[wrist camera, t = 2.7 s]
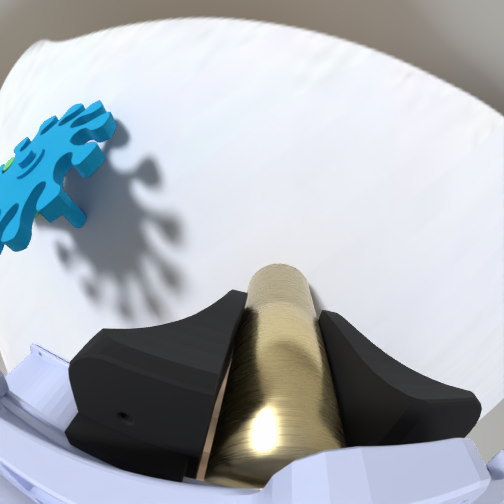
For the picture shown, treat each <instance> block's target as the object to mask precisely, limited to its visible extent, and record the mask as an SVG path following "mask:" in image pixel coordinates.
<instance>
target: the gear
mask: <svg viewBox="0 0 504 504" xmlns="http://www.w3.org/2000/svg"><path fill="white" fill-rule="evenodd" d="M116 126H117V124H116V122H115V120H114V118H113V116H112V114H111V112H106V110H105V108H104V106H103V104H102V102H101V101H100V100H99V101H97V102H95V103H93V104H92V105H90V106H89V107H88V108H87V109H85V108H84V106H83V104H75V105H73V106H72V107H71V108H70V109H69V110H68V111H67V112H66V113H65V114H64V116H63V117H62V118H61V119H60V120H58V119H57V117H56V116H53V117H51V118H49V119H48V120H46V121H44V122H43V124H42V125H41V126H40V129H39V132H38V133H37V135H36V136H35V138H34V139H33V140H32V142H31V141H30V139H29V138H28V137H26V138H25V139H24V140H23V141H21V142H20V143H19V144H18V145H17V146H16V147H15V149H14V153H15V154H16V155H15V158H14V157H13V158H11V159H10V160H9V161H8V162H7V163H6V165H4V164H3V165H1V167H0V254H1V252H2V250H3V247H4V244H5V245H7V246H8V247H9V248H10V249H11V250H13V251H15V252H17V251H21V250H24V249H26V248H27V246H28V245H29V242H30V240H31V235H32V224H33V220H34V218H35V217H36V216H37V215H38V214H39V212H40V213H41V214H42V215H43V216H44V217H45V218H46V219H47V220H48V221H49V222H52V221H54V220H55V219H57V218H58V217H59V216H61V215H63V216H64V217H65V218H66V219H67V220H68V221H69V222H70V223H71V224H72V225H73V226H74V227H75V228H80V227H82V226H83V225H84V223H85V222H86V219H87V216H86V215H85V214H84V213H83V212H82V210H81V209H80V208H79V207H78V206H77V205H76V204H75V202H74V201H73V200H72V199H71V198H70V197H69V196H68V194H67V193H66V192H65V191H64V190H63V181H64V176H65V174H66V173H67V171H68V170H69V169H70V168H72V167H73V166H74V167H75V168H76V170H77V171H78V172H79V174H80V175H81V176H82V177H83V178H87V177H90V176H91V175H92V174H93V173H94V172H95V171H96V170H97V169H98V168H99V166H100V165H101V164H102V163H103V161H104V160H105V159H106V157H105V156H104V154H103V152H102V151H101V149H100V148H99V146H98V144H97V143H96V142H104V141H106V140H108V139H110V138H111V136H112V135H113V133H114V132H115V129H116ZM89 140H95V141H96V142H90V143H87V144H84V143H86V142H87V141H89ZM83 144H84V145H83Z"/></svg>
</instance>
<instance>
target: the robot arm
mask: <svg viewBox="0 0 504 504" xmlns="http://www.w3.org/2000/svg"><path fill="white" fill-rule="evenodd" d="M247 297H248V293H245V292H241V291H237V290H231V291H229V292H228V293H227V294H226V295H225V296H223V297H222V298H221V299H219V300H218V301H217V302H215V303H214V304H212V305H211V306H209V307H207V308H206V309H204V310H202V311H200V312H198V313H197V314H195V315H192V316H190V317H187V318H185V319H182V320H179V321H175V322H171V323H167V324H163V325H159V326H153V327H146V328H135V329H104V328H103V329H102V330H101V331H100V332H98V333H97V334H96V335H95V336H94V337H93V338H92V339H91V340H90V341H89V342H88V343H87V344H86V345H85V346H84V347H83V348H82V349H81V350H80V351H79V353H78V354H77V355H76V356H75V357H74V358H73V359H72V360H71V361H70V364H69V363H67V362H66V361H64V360H62V359H60V358H58V357H56V356H54V355H53V354H51V353H49V352H47V351H46V350H44V349H42V348H40V347H39V346H37V345H35V344H31V345H30V349H31V353H30V354H29V355H28V356H27V357H26V358H25V359H24V360H23V361H22V362H21V363H20V364H19V365H17V366H16V367H15V368H14V369H13V370H12V371H11V372H10V373H9V374H8V375H7V376H6V377H4V375H3V373H2V372H1V371H0V504H504V449H503V450H502V451H500V452H499V453H498V454H496V455H495V456H494V457H493V458H492V459H491V460H490V461H489V462H488V464H487V465H485V464H484V462H483V460H482V458H481V456H480V454H479V452H478V450H477V448H476V446H475V444H474V442H473V440H472V439H466V438H465V437H466V435H467V434H468V433H469V432H470V431H471V430H472V428H473V427H474V426H475V424H476V423H477V421H478V419H479V417H480V414H481V410H482V407H481V403H480V402H479V401H478V399H477V398H476V396H475V395H474V394H473V393H472V392H471V391H467V390H463V389H460V388H456V387H453V386H449V385H446V384H443V383H441V382H438V381H435V380H433V379H430V378H428V377H426V376H424V375H422V374H420V373H418V372H416V371H414V370H412V369H410V368H408V367H406V366H405V365H403V364H401V363H400V362H398V361H397V360H395V359H393V358H392V357H390V356H389V355H387V354H386V353H385V352H383V351H382V350H381V349H379V348H378V347H377V346H376V345H374V344H373V343H372V342H371V341H370V340H368V339H367V338H366V337H365V336H364V335H363V334H361V333H360V332H359V331H358V330H357V329H356V328H355V327H354V326H352V325H351V324H350V323H349V322H348V321H347V320H346V319H344V318H343V317H342V316H341V315H339V314H338V313H335V312H330V311H325V310H322V312H321V315H320V318H319V320H318V323H319V327H320V331H321V335H322V339H323V343H324V347H325V351H326V355H327V359H328V364H329V368H330V372H331V376H332V381H333V385H334V390H335V394H336V399H337V403H338V408H339V413H340V418H341V423H342V427H343V432H344V438H345V443H346V448H340V449H331V450H324V451H321V452H318V453H315V454H312V455H309V456H305V457H302V458H299V459H296V460H294V461H293V462H292V463H290V464H289V465H287V466H286V467H284V468H283V469H282V470H280V471H279V472H277V473H276V474H274V475H273V476H272V477H271V479H270V480H269V482H268V483H267V484H266V486H265V487H264V488H263V489H257V488H234V487H228V486H223V485H218V484H213V483H209V482H204V481H200V480H196V478H197V474H198V470H199V466H200V462H201V458H202V454H203V450H204V446H205V442H206V439H207V435H208V431H209V427H210V423H211V419H212V415H213V411H214V407H215V403H216V400H217V397H218V394H219V392H220V389H221V386H222V384H223V381H224V378H225V376H226V373H227V370H228V368H229V365H230V362H231V359H232V356H233V352H234V347H235V343H236V338H237V334H238V331H239V327H240V324H241V321H242V317H243V313H244V309H245V305H246V301H247Z"/></svg>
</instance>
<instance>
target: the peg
mask: <svg viewBox="0 0 504 504" xmlns="http://www.w3.org/2000/svg"><path fill="white" fill-rule="evenodd" d="M247 293H248V297H247V301H246V305H245V309H244V313H243V317H242V321H241V324H240V327H239V331H238V334H237V338H236V343H235V347H234V352H233V356H232V360H231V365H230V369H229V373H228V378H227V382H226V386H225V391H224V395H223V399H222V403H221V408H220V412H219V416H218V421H217V425H216V429H215V434H214V438H213V442H212V446H211V451H210V455H209V459H208V463H207V468H206V472H205V476H204V482H209V483H213V484H218V485H223V486H228V487H234V488H257V489H263V488H264V487H265V486H266V484H267V483H268V482H269V480H270V479H271V477H272V476H273V475H274V474H276V473H277V472H279V471H280V470H282V469H283V468H284V467H286V466H287V465H289V464H290V463H292V462H293V461H294V460H296V459H299V458H302V457H305V456H309V455H312V454H315V453H318V452H321V451H324V450H331V449H340V448H346V443H345V438H344V432H343V427H342V423H341V418H340V413H339V408H338V403H337V399H336V394H335V390H334V385H333V381H332V376H331V372H330V368H329V364H328V359H327V355H326V351H325V347H324V343H323V339H322V335H321V331H320V327H319V323H318V319H317V315H316V311H315V308H314V304H313V300H312V296H311V293H310V289H309V285H308V282H307V280H306V278H305V277H304V275H303V274H302V273H301V272H300V271H299V270H297V269H296V268H294V267H292V266H289V265H286V264H272V265H268V266H266V267H264V268H262V269H260V270H259V271H258V272H256V273H255V275H254V276H253V277H252V279H251V281H250V283H249V286H248V290H247Z"/></svg>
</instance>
